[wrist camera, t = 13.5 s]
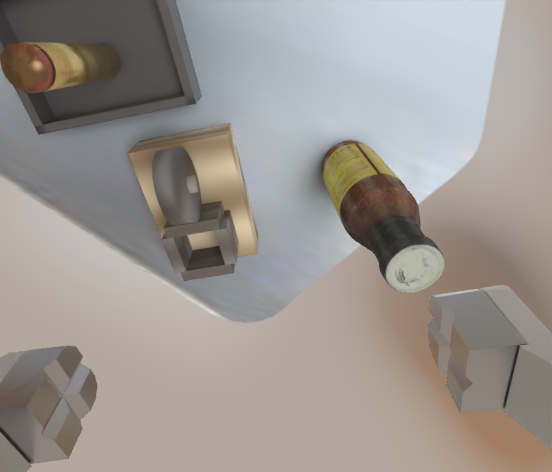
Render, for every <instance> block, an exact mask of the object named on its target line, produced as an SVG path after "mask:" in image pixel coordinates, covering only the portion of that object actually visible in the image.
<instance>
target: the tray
mask: <svg viewBox="0 0 552 472" xmlns="http://www.w3.org/2000/svg"><path fill="white" fill-rule="evenodd" d="M15 42H40V43H104V44H107V45H109V46H111V47H112V48H114V49H115V51H116V52H117V53H118V55H119V57H120V61H121V68H120V71H119V73H118V74H117V75H116V76H115V77H113V78H110V79H105V80H100V81H95V82H90V83H85V84H79V85H74V86H69V87H64V88H59V89H54V90H49V91H44V92H39V93H26V92H23V91H21V90H19V89H17V88H16V87H15V86H14V87H15V89H16V91H17V93H18V95H19V97H20V99H21V101H22V103H23V105H24V107H25V109H26V111H27V112H28V114H29V116H30V118H31V120H32V122H33V124H34V126H35V128H36V130H37V132H38V134H44V133H49V132H54V131H59V130H64V129H69V128H74V127H79V126H85V125H90V124H95V123H100V122H105V121H110V120H115V119H120V118H125V117H130V116H135V115H140V114H145V113H150V112H155V111H160V110H165V109H170V108H175V107H180V106H185V105H190V104H195V103H197V101H198V100H199V99H200V98H201V96H202V95H201V92H200V88H199V84H198V81H197V77H196V73H195V70H194V66H193V63H192V59H191V55H190V52H189V48H188V44H187V41H186V37H185V33H184V30H183V26H182V22H181V19H180V15H179V11H178V8H177V4H176V0H0V60H1V55H2V52H3V50H4V48H5V47H6V46H7V45H9V44H11V43H15Z"/></svg>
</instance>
